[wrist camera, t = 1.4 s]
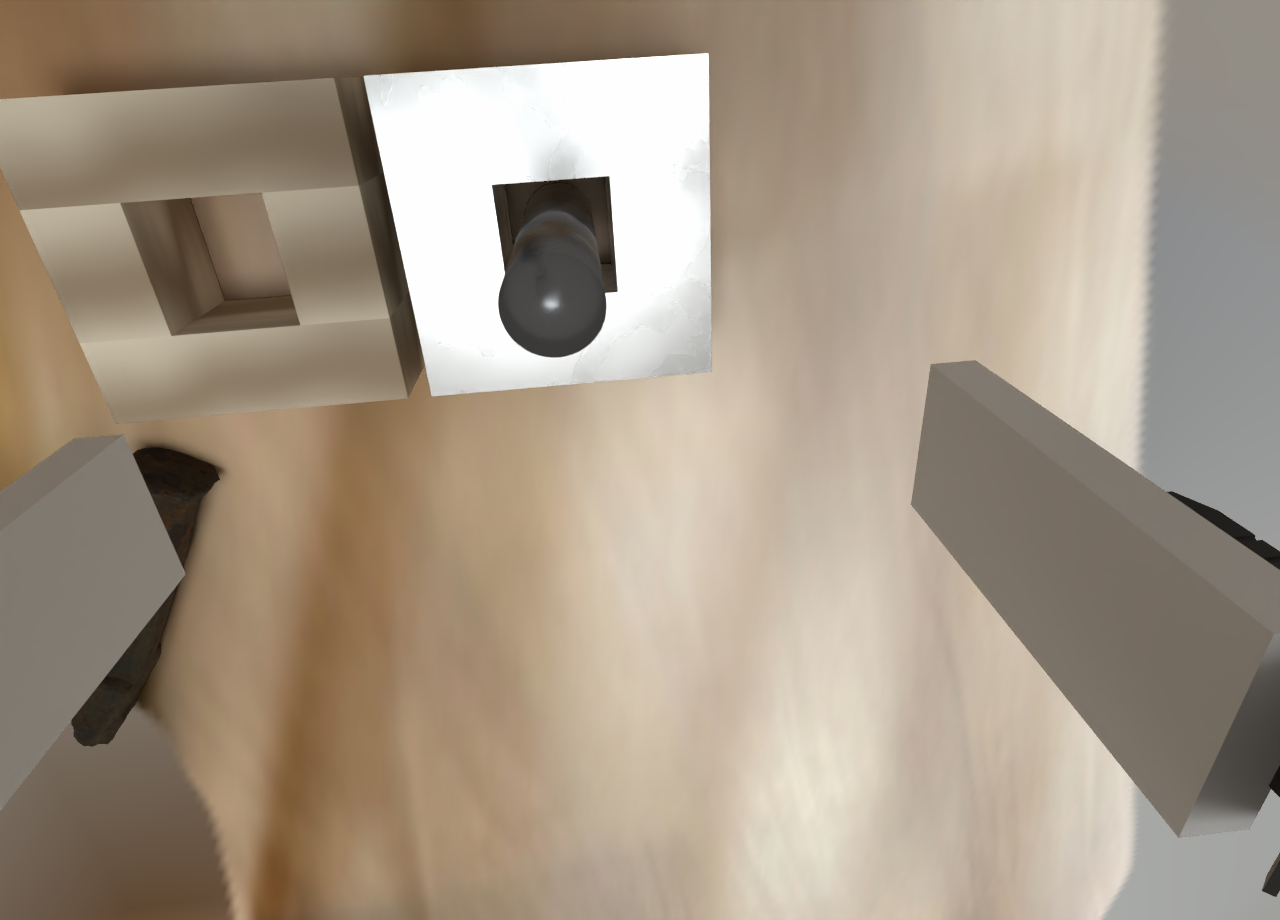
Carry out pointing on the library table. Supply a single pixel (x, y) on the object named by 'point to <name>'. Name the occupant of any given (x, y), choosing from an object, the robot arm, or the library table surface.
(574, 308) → the dark grey rounded rod
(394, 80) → the socket block
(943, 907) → the library table surface
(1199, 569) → the robot arm
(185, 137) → the beige block with hole
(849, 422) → the library table surface
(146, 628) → the hand tool
